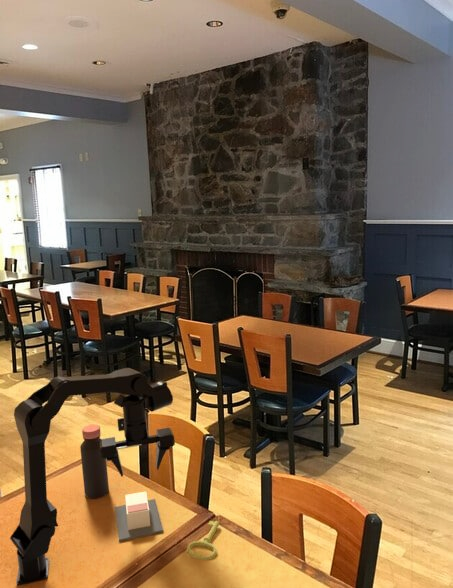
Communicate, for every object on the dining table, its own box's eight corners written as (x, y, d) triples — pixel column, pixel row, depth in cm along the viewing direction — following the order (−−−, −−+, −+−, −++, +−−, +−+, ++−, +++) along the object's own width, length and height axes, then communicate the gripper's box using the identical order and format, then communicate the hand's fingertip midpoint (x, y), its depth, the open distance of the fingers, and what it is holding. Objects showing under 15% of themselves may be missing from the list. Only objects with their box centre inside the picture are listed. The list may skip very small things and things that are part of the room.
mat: (163, 532, 123) (163, 529, 123) (119, 541, 120) (118, 539, 120) (155, 500, 137) (155, 498, 136) (115, 508, 134) (114, 506, 133)
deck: (147, 506, 133) (146, 490, 132) (150, 525, 125) (149, 509, 124) (126, 510, 132) (125, 494, 131) (128, 530, 124) (126, 513, 123)
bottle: (99, 483, 146) (94, 420, 143) (113, 491, 142) (108, 426, 138) (80, 493, 141) (73, 429, 138) (93, 502, 137) (87, 435, 133)
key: (220, 526, 125) (219, 519, 125) (215, 561, 113) (215, 553, 113) (192, 526, 126) (191, 519, 125) (185, 561, 114) (184, 553, 113)
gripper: (165, 399, 135) (169, 451, 138) (96, 410, 130) (102, 463, 133) (173, 416, 125) (177, 471, 128) (98, 428, 120) (104, 486, 123)
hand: (140, 472), depth 128 cm, fingers open, 9 cm apart
